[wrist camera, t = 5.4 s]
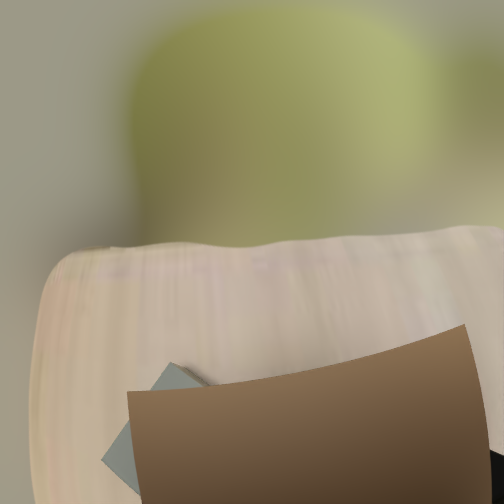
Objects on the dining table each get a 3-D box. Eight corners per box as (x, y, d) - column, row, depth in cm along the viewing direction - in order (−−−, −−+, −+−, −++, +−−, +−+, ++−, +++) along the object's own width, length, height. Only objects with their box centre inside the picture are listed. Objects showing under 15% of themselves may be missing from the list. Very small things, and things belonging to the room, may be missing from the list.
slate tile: (220, 530, 15) (209, 545, 13) (121, 456, 19) (101, 459, 16) (295, 439, 19) (294, 444, 16) (184, 367, 22) (170, 362, 20)
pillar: (354, 465, 12) (484, 576, 1) (266, 482, 12) (185, 635, 1) (340, 387, 14) (464, 324, 3) (253, 403, 14) (127, 391, 3)
